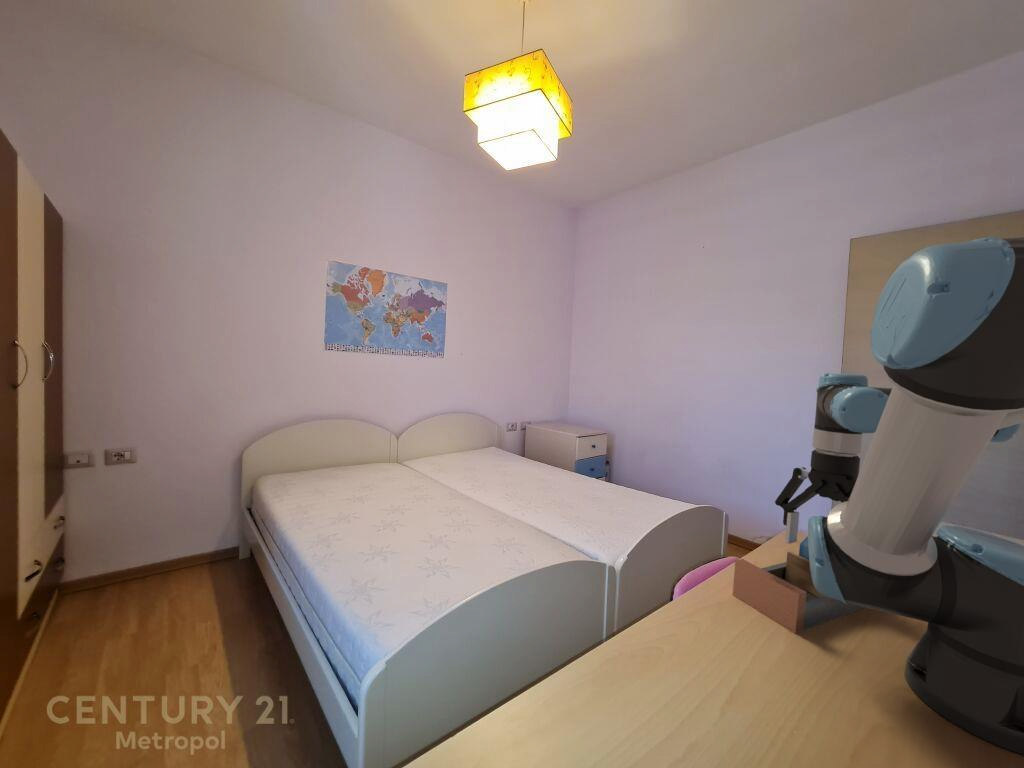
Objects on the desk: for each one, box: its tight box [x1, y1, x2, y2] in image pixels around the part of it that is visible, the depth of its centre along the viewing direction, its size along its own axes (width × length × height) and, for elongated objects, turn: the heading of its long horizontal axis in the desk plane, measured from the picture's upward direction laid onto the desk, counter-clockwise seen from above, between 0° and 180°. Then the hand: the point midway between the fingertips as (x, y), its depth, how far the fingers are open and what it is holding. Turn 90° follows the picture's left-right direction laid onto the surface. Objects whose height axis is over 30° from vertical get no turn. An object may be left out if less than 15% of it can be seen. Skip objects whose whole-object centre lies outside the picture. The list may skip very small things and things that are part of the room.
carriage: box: [785, 551, 823, 598], centre depth 83 cm, size 9×12×6 cm
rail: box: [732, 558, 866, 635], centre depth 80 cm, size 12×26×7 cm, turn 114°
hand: (825, 556), depth 82 cm, fingers open, 13 cm apart
